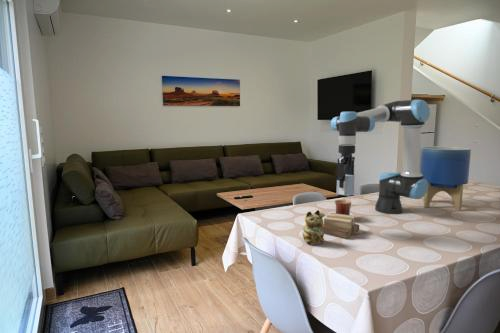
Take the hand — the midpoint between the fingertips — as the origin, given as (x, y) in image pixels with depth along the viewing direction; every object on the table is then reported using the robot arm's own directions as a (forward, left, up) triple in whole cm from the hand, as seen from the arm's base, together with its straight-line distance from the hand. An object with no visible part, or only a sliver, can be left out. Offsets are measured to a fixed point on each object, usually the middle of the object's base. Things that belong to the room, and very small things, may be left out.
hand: (344, 193), depth 157 cm
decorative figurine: (+21, -5, -20) cm, 29 cm away
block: (0, 0, 0) cm, 0 cm away
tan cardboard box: (+1, -2, -20) cm, 20 cm away
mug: (-20, -10, -20) cm, 30 cm away
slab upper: (+1, -2, -16) cm, 16 cm away
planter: (-87, +23, -20) cm, 92 cm away
